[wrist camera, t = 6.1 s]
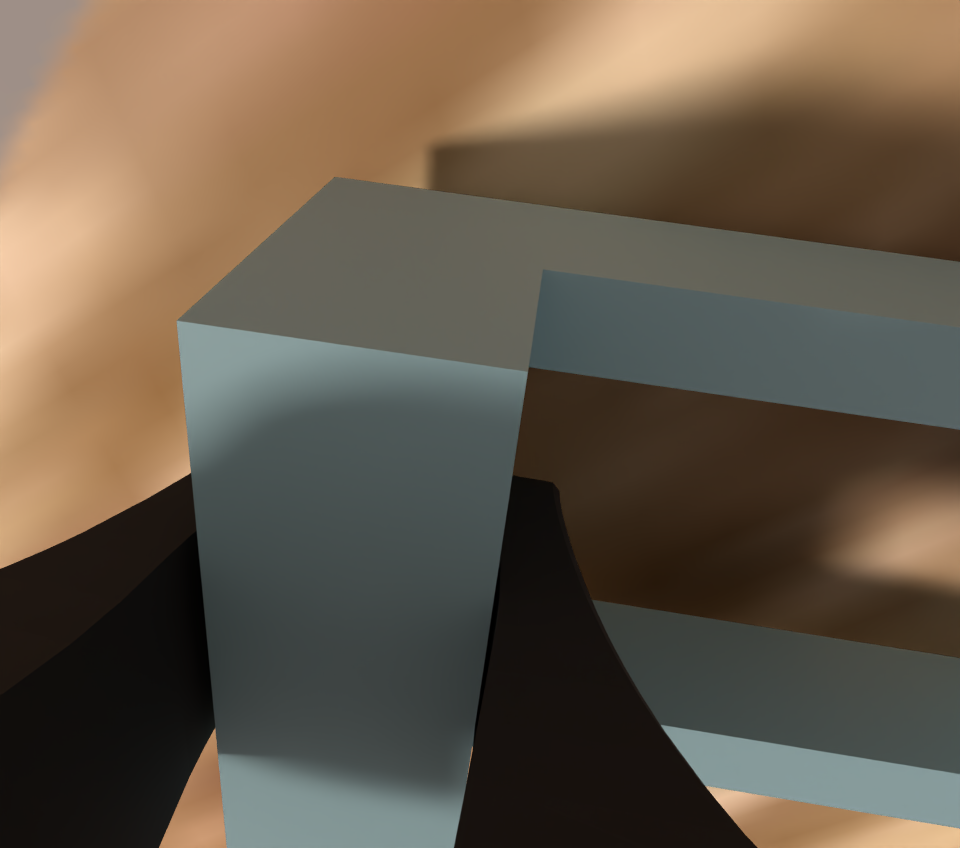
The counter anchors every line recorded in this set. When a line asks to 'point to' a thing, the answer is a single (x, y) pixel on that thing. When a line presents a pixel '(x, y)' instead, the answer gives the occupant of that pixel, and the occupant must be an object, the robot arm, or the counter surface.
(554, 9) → the counter surface
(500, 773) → the robot arm
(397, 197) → the link
